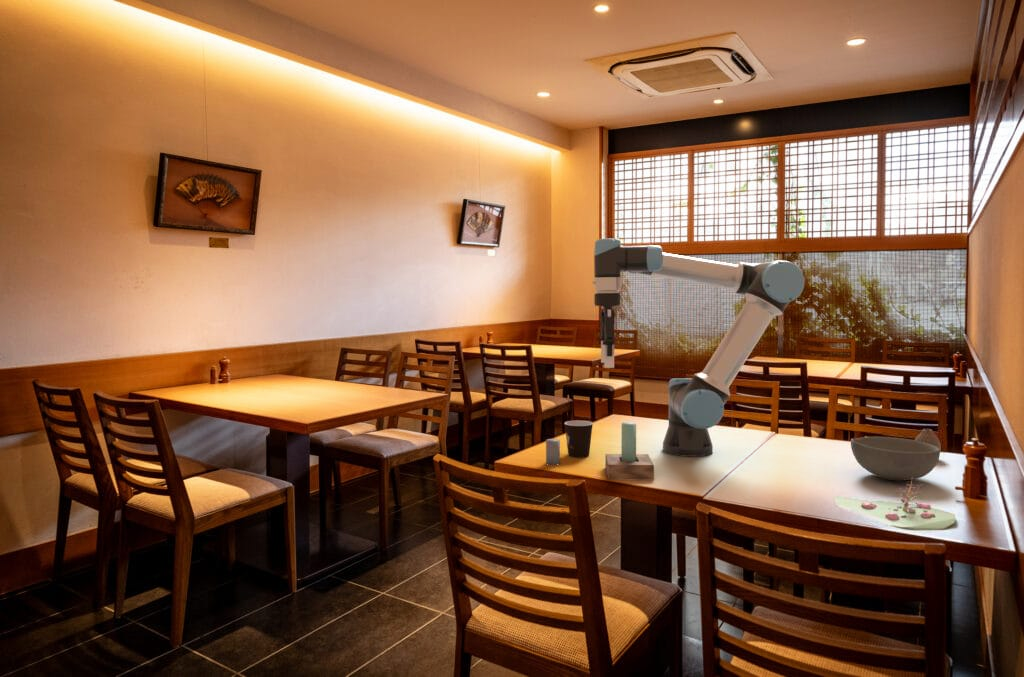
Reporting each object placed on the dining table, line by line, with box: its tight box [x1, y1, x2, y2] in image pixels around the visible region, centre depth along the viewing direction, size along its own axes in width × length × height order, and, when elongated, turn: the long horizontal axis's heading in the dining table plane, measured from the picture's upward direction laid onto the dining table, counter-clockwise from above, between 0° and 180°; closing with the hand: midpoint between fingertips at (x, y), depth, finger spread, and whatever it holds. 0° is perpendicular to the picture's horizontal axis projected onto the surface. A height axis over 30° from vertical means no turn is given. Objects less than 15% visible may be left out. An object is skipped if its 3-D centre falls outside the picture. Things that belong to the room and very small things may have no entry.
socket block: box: [604, 453, 655, 481], centre depth 186 cm, size 12×12×4 cm
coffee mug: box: [564, 420, 594, 459], centre depth 208 cm, size 12×9×10 cm
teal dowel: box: [620, 421, 637, 462], centre depth 185 cm, size 4×4×14 cm
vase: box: [914, 428, 942, 452], centre depth 198 cm, size 7×7×9 cm
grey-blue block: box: [545, 438, 561, 466], centre depth 197 cm, size 4×4×7 cm
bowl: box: [850, 436, 941, 482], centre depth 178 cm, size 20×20×10 cm
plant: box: [833, 478, 956, 531], centre depth 152 cm, size 25×21×9 cm
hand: (607, 365), depth 197 cm, fingers open, 13 cm apart
